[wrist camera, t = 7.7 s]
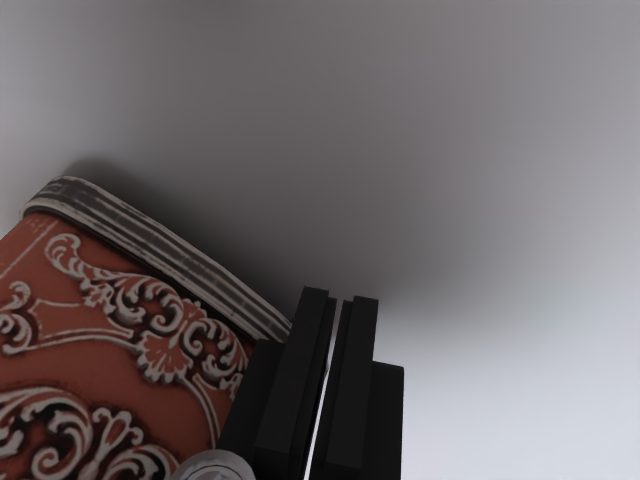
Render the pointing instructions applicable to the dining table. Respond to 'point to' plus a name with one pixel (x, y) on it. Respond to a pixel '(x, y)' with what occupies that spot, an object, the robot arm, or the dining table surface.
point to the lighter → (115, 341)
